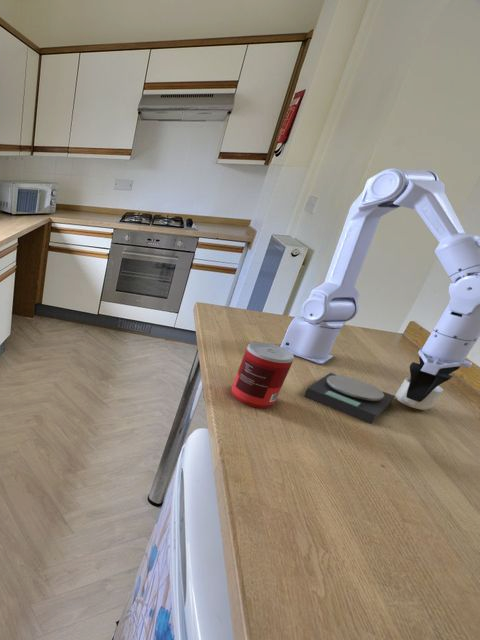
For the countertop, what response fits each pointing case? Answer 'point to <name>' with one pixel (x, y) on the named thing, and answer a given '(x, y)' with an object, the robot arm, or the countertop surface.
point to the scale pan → (355, 388)
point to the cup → (423, 405)
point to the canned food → (261, 374)
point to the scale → (347, 401)
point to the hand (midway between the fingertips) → (417, 395)
